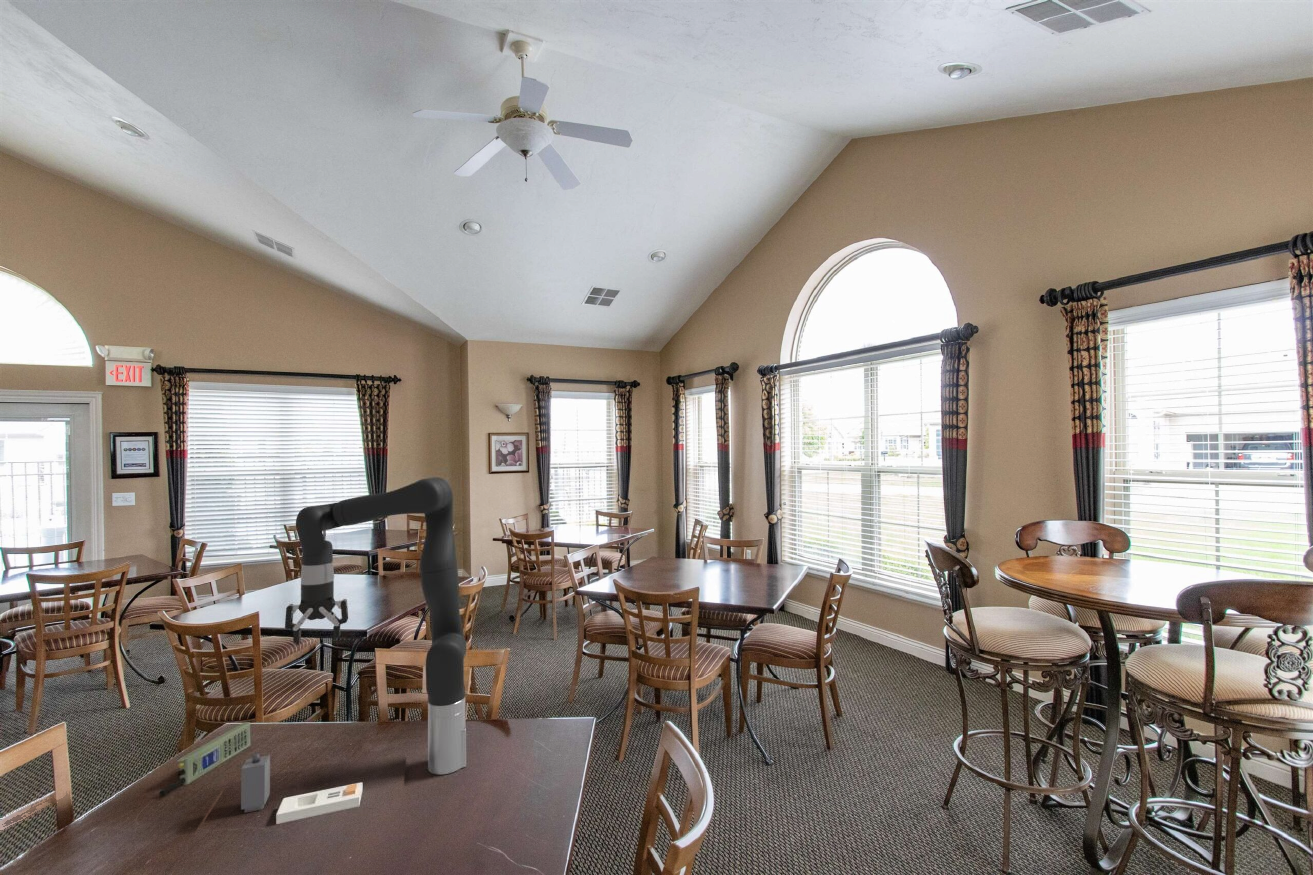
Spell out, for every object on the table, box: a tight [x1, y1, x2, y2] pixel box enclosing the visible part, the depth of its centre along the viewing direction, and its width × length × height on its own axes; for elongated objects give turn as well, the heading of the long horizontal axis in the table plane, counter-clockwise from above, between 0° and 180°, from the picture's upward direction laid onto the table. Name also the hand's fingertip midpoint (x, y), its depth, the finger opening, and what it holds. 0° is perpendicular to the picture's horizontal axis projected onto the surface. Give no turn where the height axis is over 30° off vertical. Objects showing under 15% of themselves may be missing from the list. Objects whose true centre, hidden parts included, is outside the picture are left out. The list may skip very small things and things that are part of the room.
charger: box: [240, 752, 271, 814], centre depth 128 cm, size 4×4×12 cm
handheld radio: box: [158, 721, 251, 797], centre depth 147 cm, size 7×3×25 cm
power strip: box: [275, 782, 363, 825], centre depth 129 cm, size 22×6×4 cm, turn 112°
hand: (317, 641), depth 149 cm, fingers open, 8 cm apart
